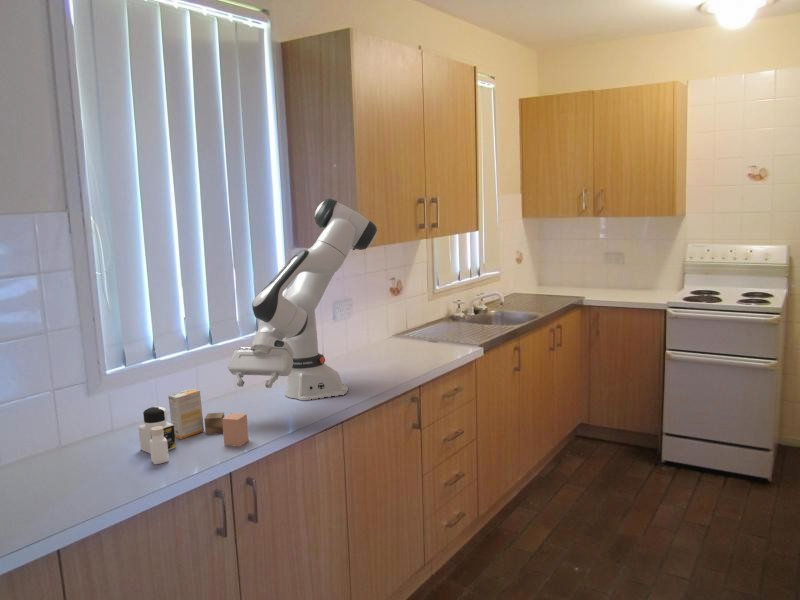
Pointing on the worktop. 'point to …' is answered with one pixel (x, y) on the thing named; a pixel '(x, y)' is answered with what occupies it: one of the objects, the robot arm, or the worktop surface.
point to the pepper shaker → (158, 446)
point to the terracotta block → (235, 429)
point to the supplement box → (186, 413)
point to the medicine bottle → (153, 419)
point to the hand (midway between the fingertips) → (253, 386)
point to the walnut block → (214, 423)
